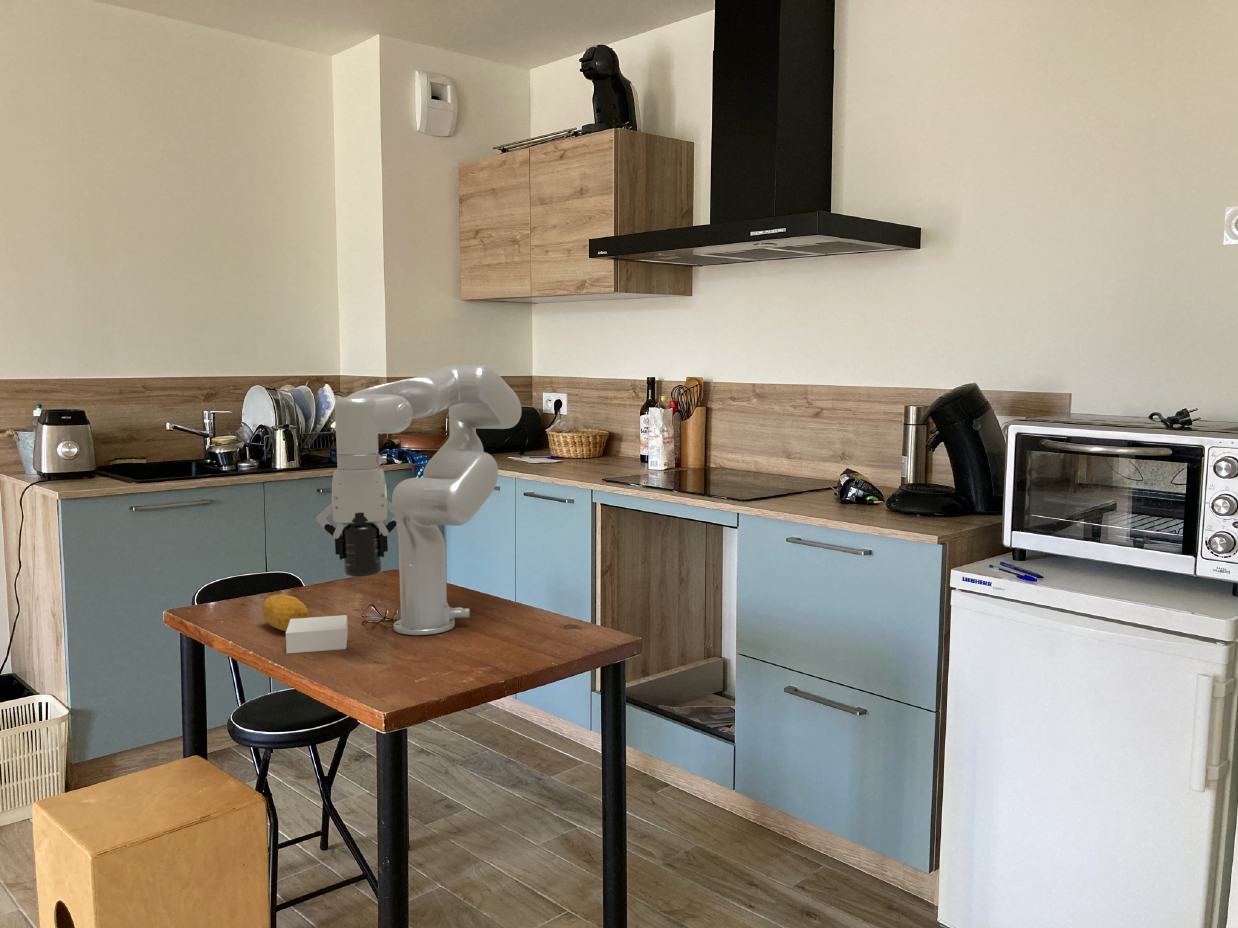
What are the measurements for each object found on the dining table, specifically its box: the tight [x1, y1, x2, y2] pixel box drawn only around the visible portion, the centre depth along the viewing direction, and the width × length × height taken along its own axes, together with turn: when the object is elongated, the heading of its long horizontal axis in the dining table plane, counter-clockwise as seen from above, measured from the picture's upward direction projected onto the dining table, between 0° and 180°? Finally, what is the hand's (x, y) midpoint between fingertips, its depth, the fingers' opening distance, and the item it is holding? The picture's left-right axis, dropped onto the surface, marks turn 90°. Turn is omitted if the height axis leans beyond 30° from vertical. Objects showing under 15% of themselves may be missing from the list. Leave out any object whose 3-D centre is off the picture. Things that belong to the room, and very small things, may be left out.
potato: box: [261, 593, 309, 633], centre depth 200 cm, size 7×14×7 cm, turn 38°
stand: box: [285, 614, 349, 654], centre depth 189 cm, size 11×11×4 cm
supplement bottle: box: [341, 513, 382, 578], centre depth 180 cm, size 7×7×12 cm
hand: (362, 556), depth 180 cm, fingers closed on supplement bottle, 6 cm apart
